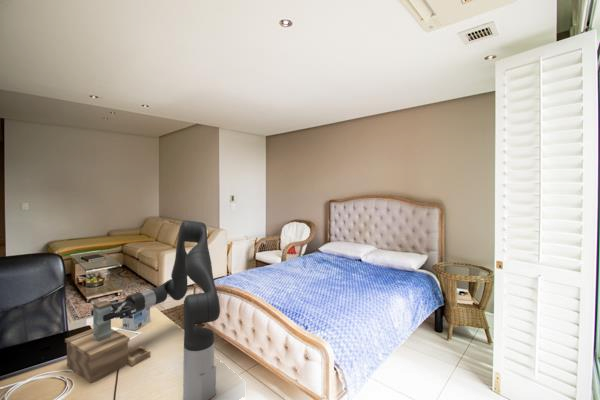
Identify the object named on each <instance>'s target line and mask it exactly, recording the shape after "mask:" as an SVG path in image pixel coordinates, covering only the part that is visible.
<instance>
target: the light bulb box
mask: <svg viewBox="0 0 600 400" xmlns="http://www.w3.org/2000/svg"><path fill="white" fill-rule="evenodd" d="M124 315H125V314H124ZM149 322H151V307H149V308H147V309H144V310H142V311H139V312H136V313H135V314H133V315H130V316H128V317H125V318H123V319H122V324H121V325H122V328H121V329H124V330H129V331H134V332H136V330H138V329H140V328H141V327H143V326H145V325H146V324H148V323H149Z"/></svg>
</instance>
